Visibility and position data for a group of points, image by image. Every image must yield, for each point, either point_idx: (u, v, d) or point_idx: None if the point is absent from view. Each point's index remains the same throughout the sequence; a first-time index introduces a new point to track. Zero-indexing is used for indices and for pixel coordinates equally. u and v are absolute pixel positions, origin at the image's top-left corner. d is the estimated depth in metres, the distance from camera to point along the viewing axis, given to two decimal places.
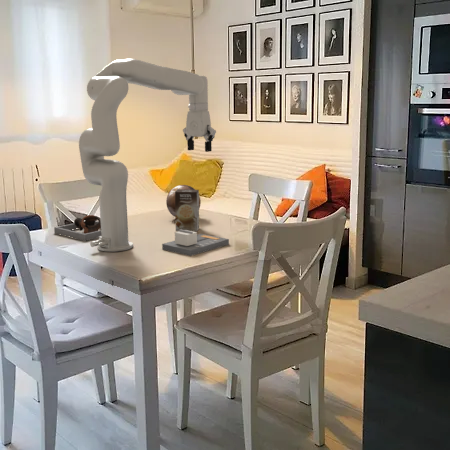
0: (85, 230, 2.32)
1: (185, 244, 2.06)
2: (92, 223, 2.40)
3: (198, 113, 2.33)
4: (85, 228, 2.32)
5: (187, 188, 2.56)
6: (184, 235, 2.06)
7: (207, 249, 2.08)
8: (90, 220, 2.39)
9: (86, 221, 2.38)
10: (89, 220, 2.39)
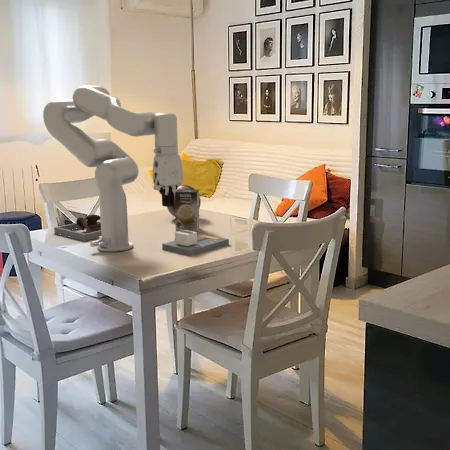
0: (88, 229, 2.33)
1: (185, 244, 2.06)
2: (94, 222, 2.41)
3: (176, 157, 1.97)
4: (88, 227, 2.33)
5: (187, 188, 2.56)
6: (184, 235, 2.06)
7: (207, 249, 2.08)
8: (92, 219, 2.40)
9: (88, 220, 2.40)
10: (91, 219, 2.40)
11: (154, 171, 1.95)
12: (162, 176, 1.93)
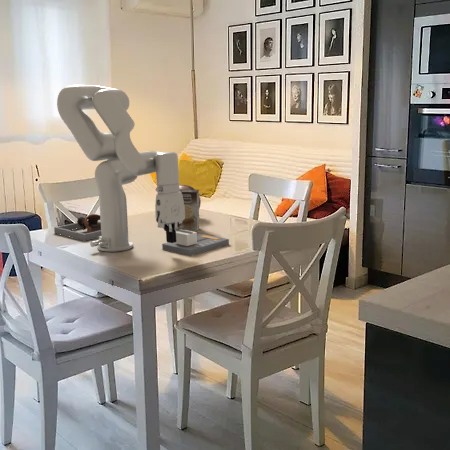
0: (89, 229, 2.33)
1: (185, 244, 2.06)
2: (95, 222, 2.42)
3: (178, 194, 1.99)
4: (89, 227, 2.33)
5: (187, 188, 2.56)
6: (184, 235, 2.06)
7: (207, 249, 2.08)
8: (93, 219, 2.40)
9: (89, 220, 2.40)
10: (92, 219, 2.40)
11: (156, 209, 1.97)
12: (164, 214, 1.96)
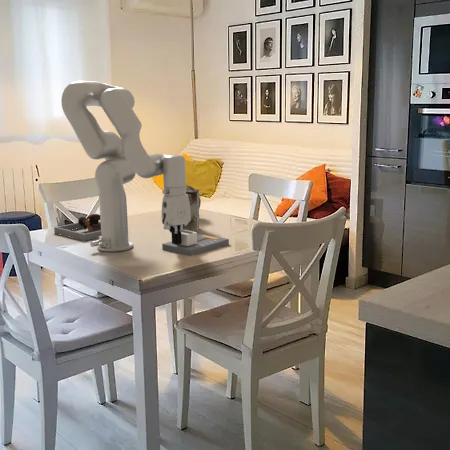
0: (90, 229, 2.34)
1: (185, 244, 2.06)
2: (96, 222, 2.42)
3: (185, 197, 2.02)
4: (90, 227, 2.34)
5: (187, 188, 2.56)
6: (184, 235, 2.06)
7: (207, 249, 2.08)
8: (94, 219, 2.41)
9: (90, 220, 2.40)
10: (93, 219, 2.41)
11: (163, 211, 2.00)
12: (171, 216, 1.99)
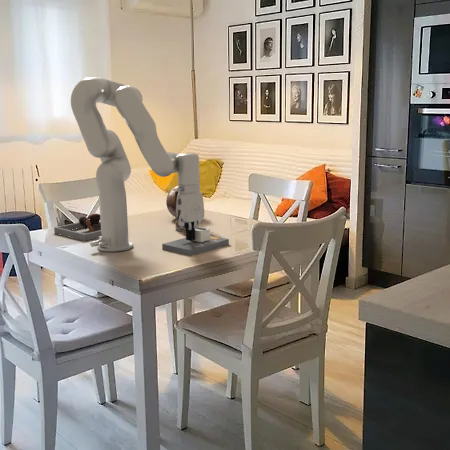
0: (91, 229, 2.34)
1: (199, 241, 2.11)
2: (96, 222, 2.42)
3: (198, 194, 2.07)
4: (90, 227, 2.34)
5: None
6: (198, 231, 2.11)
7: (207, 249, 2.08)
8: (95, 219, 2.41)
9: (91, 220, 2.41)
10: (94, 219, 2.41)
11: (177, 208, 2.05)
12: (185, 213, 2.04)
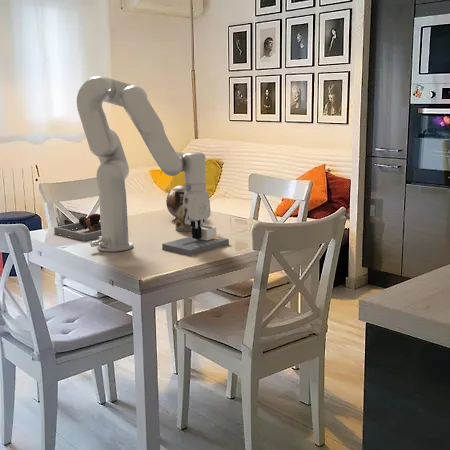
0: (90, 228, 2.34)
1: (205, 239, 2.14)
2: (96, 222, 2.42)
3: (205, 193, 2.10)
4: (90, 227, 2.34)
5: None
6: (204, 230, 2.13)
7: (207, 249, 2.08)
8: (94, 219, 2.41)
9: (91, 220, 2.41)
10: (93, 219, 2.41)
11: (184, 207, 2.07)
12: (192, 212, 2.06)
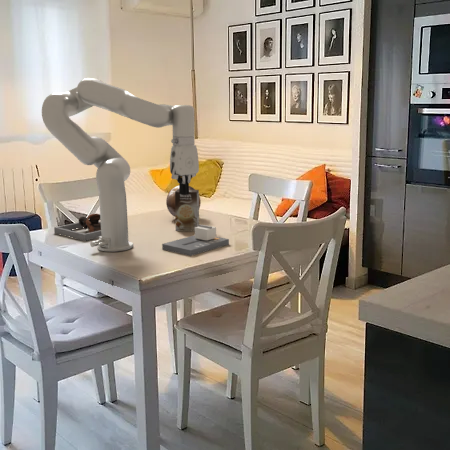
0: (91, 228, 2.34)
1: (205, 239, 2.14)
2: (96, 222, 2.42)
3: (193, 148, 2.04)
4: (91, 226, 2.34)
5: None
6: (204, 230, 2.13)
7: (207, 249, 2.08)
8: (94, 219, 2.41)
9: (90, 220, 2.41)
10: (93, 219, 2.41)
11: (171, 160, 2.02)
12: (179, 165, 2.01)
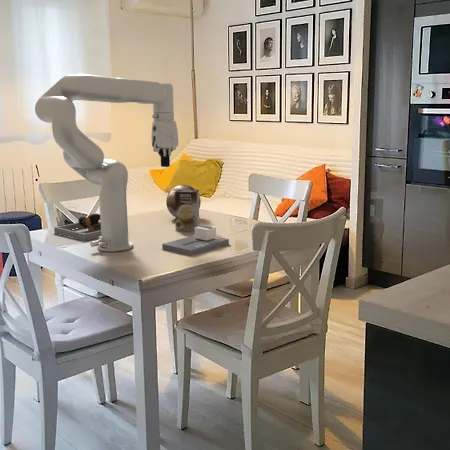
0: (91, 228, 2.34)
1: (205, 239, 2.14)
2: (96, 222, 2.43)
3: (173, 122, 2.21)
4: (91, 226, 2.34)
5: (187, 188, 2.56)
6: (204, 230, 2.13)
7: (207, 249, 2.08)
8: (94, 219, 2.42)
9: (90, 220, 2.41)
10: (93, 219, 2.41)
11: (152, 135, 2.19)
12: (160, 139, 2.17)
